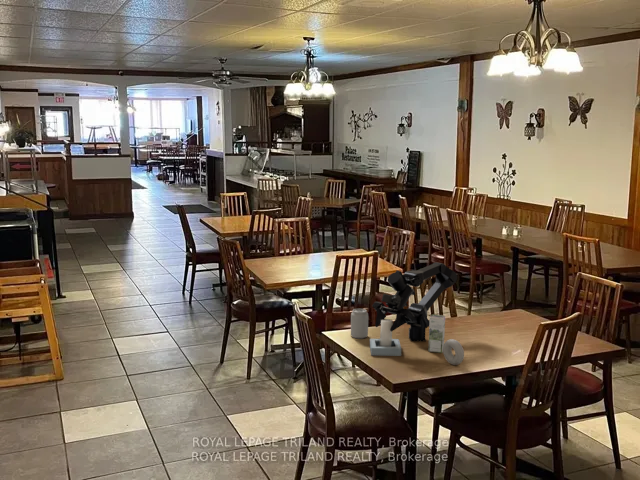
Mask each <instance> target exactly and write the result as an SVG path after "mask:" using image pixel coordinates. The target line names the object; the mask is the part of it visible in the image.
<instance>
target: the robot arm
mask: <svg viewBox="0 0 640 480" xmlns="http://www.w3.org/2000/svg"><path fill="white" fill-rule="evenodd" d="M434 276H435V282H434V283H433V285H432V286H431V287H430V289H429V290H427V292H426V294H425V295H424V296H423V297H422V299H421V300H420V301H419V302H418V303H415V302H412V303H411V304H410V305H409V304H408V301H409V299H410V297H411V296H415V295H416V292H415V287H416V288H418V287H420V286H421V285H423V284H424V281H426V280H427V279H429V278H431V277H434ZM386 280H387V282H388V283H389V285H390V286H391V287H392V289H393V290H394V291H395V294H387V293H383V294H382V298H381V302H380V301H374V302H373V303H372V305H371V306H372V308H373V309H374V310H375V311H376V319H375V324H374V325H375V328H378V327H379V326H381V320H382V319H387V313H390V314H393V315H396V316H395V320H393V325H392V326H391V329H390V331H391V332H392V333H393V331H395V330H396V329H398V328H400V327H402V326H404V325H405V324H406V325H407V326H408V325H409V327H408V339H409V340H410V342H426V341H427V340H426V331H427V328H429V319H428V311H429V309H431V307H432V306H433V304H434V303H435V302H436V301H437V300H438V298H439V297H440V296H441V294H442V293H443V292H444V291H445V290H447V289H448V288H451V287H453V285H455V283H457V281H458V275H457V273H456V271H454V270H452V269H451V268H450V267H448V266H447V265H446V264H445V263H443V262H437V261H436V262H433V263H432V264H430V265H427V266H425V267H423V268H420V269H418V270H407V271H405V272H404V273H402V271H401V270H395V272H393V273H391V274H390V275H389V274H388V277H387V279H386ZM413 287H414V288H413ZM384 303H385V304H384ZM408 305H409V306H408ZM405 307H406V308H405ZM407 307H408V308H407Z"/></svg>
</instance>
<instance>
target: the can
mask: <svg viewBox="0 0 640 480" xmlns="http://www.w3.org/2000/svg"><path fill="white" fill-rule="evenodd" d="M368 335H369V313H368V310H367V309H365V308H353V309H352V312H351V313H350V336H351V337H352V338H354V339H357V340H358V339H359V340H361V339H362V340H363V339H365V338H367V337H368Z"/></svg>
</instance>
